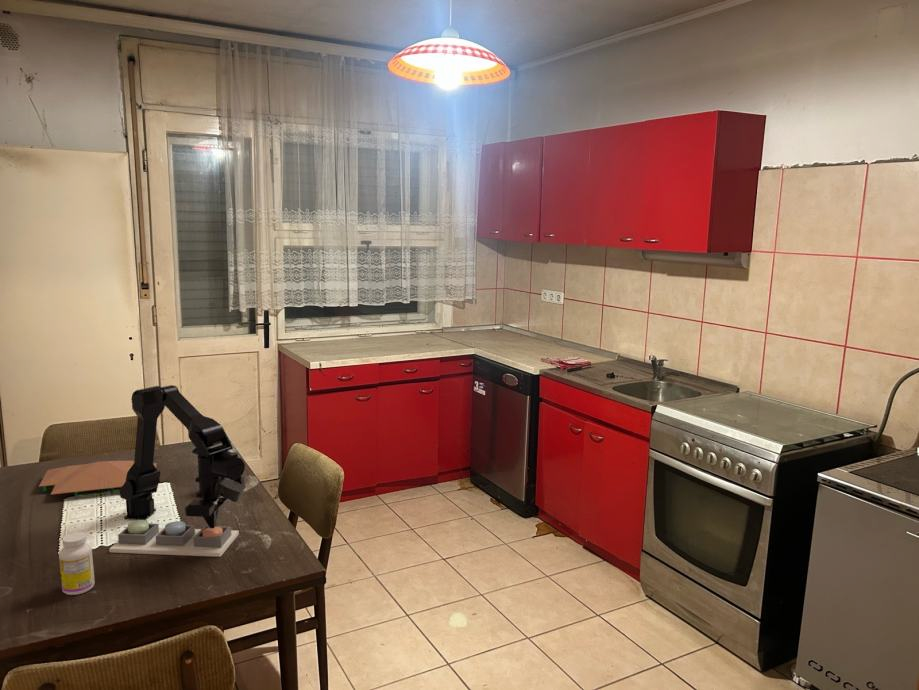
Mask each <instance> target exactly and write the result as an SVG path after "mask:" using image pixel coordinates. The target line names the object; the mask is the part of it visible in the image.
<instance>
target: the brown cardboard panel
mask: <svg viewBox="0 0 919 690" xmlns="http://www.w3.org/2000/svg"><path fill="white" fill-rule="evenodd" d="M133 464H134V460H105V461H104V460H103V461H95V462H90V463H85V464H76V465H75V464H74V465H65V466H61V467H57V468H56V467H55V468H51V469H48V470H47V471H46V473H45V474H44V476H43V478H42V480H41V482H40V483H39V485H38V488H39V487H42V494H43V493H45V492H46V493H48V492H47V490H49V493H50V495H60V494H62V495H63V494H71V493H74V500H77V498H78V499H79V497H80V496H81V498H83V496H84V498H86V497H85V495H86V496H87V498H88V497H89V498H92V497H91V495H92V494H93V495H92V496H93V498H94V497H95V498H96V497H98V496H99V497H100V495H98V496H97V494H95V495H94V492H92V493H83V494H82V493H81V492H88V491H89V492H90V491H97V490H98V491H99V490H106V489H107V490H108V492H109V493H110V496H113V494H112V493H114V491H115V489H117V490H118V489H119V488H120V489H121V487H122V486H123V485H124V483H125V481H126V476H127V472H128V471H129V469H130V468H131V467H132V465H133ZM153 464H154V466H155V467H156V468H157V464H158V463H157V462H153ZM50 486H53V487H52V488H48V487H50ZM120 489H119V490H120ZM51 490H52V491H51ZM50 491H51V492H50ZM79 493H80V494H79ZM100 493H101V494H103V493H104V494H105V491H101V492H100V491H99V494H100ZM77 494H78V495H77ZM88 495H90V496H88ZM76 496H77V497H76Z"/></svg>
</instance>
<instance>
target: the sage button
mask: <svg viewBox="0 0 919 690" xmlns="http://www.w3.org/2000/svg"><path fill="white" fill-rule="evenodd" d="M127 527H128V534H145V533H146V532H147V531H148V530H149V521H148V520H147V519H145V520H140V519H135V520H134V521H131V522H129V523H128V524H127Z"/></svg>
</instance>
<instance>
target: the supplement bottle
mask: <svg viewBox="0 0 919 690" xmlns="http://www.w3.org/2000/svg"><path fill="white" fill-rule="evenodd" d="M61 541H62V545H63V547H62V548H61V549H60V551H59V552H58V560H59V570H60V571H59V572H60V581H61V590H62V593H64V594H66V595H69V596H76V595H80V594H84V593H87V592H89V591H90V590H91V589H92V588H93V587H94V586H95V583H96V582H95V570H94V569H95V568H94V559H93V549H92V548H93V547H92V546H91V544H89V543H88V542H87V535H86V534H85V533H84V532H73V533H70V534H66V535H65V536H64V537H63V538H62V540H61Z"/></svg>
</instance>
